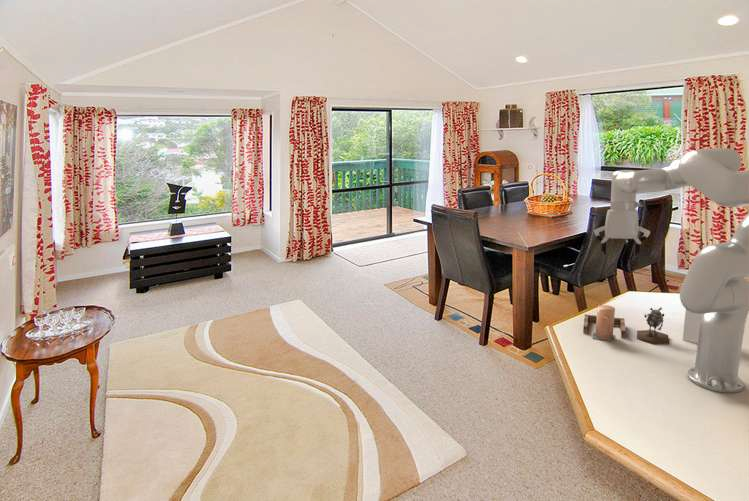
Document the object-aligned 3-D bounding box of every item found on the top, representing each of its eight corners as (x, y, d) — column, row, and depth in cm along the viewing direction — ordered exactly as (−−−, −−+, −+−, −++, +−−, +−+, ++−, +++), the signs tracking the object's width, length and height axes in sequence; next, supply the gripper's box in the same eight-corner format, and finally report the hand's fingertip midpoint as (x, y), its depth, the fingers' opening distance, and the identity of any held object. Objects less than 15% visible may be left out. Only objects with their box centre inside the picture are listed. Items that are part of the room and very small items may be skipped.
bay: (625, 338, 151) (625, 331, 150) (583, 333, 157) (583, 326, 157) (623, 325, 162) (624, 318, 161) (584, 321, 168) (584, 314, 167)
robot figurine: (628, 336, 153) (630, 304, 150) (643, 329, 157) (645, 298, 154) (661, 347, 143) (664, 313, 141) (676, 340, 148) (679, 307, 145)
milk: (703, 345, 143) (710, 282, 138) (681, 339, 148) (688, 279, 142) (709, 339, 146) (717, 278, 141) (688, 334, 151) (695, 275, 146)
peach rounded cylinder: (612, 334, 154) (614, 306, 152) (613, 343, 148) (615, 313, 145) (595, 332, 157) (597, 304, 154) (595, 341, 150) (597, 311, 148)
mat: (615, 341, 149) (615, 340, 149) (592, 338, 153) (592, 338, 153) (614, 335, 154) (614, 335, 154) (592, 333, 157) (592, 332, 157)
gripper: (650, 204, 148) (647, 252, 151) (594, 205, 155) (592, 250, 159) (653, 207, 141) (649, 257, 145) (594, 207, 149) (592, 255, 153)
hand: (619, 253), depth 152 cm, fingers open, 9 cm apart
